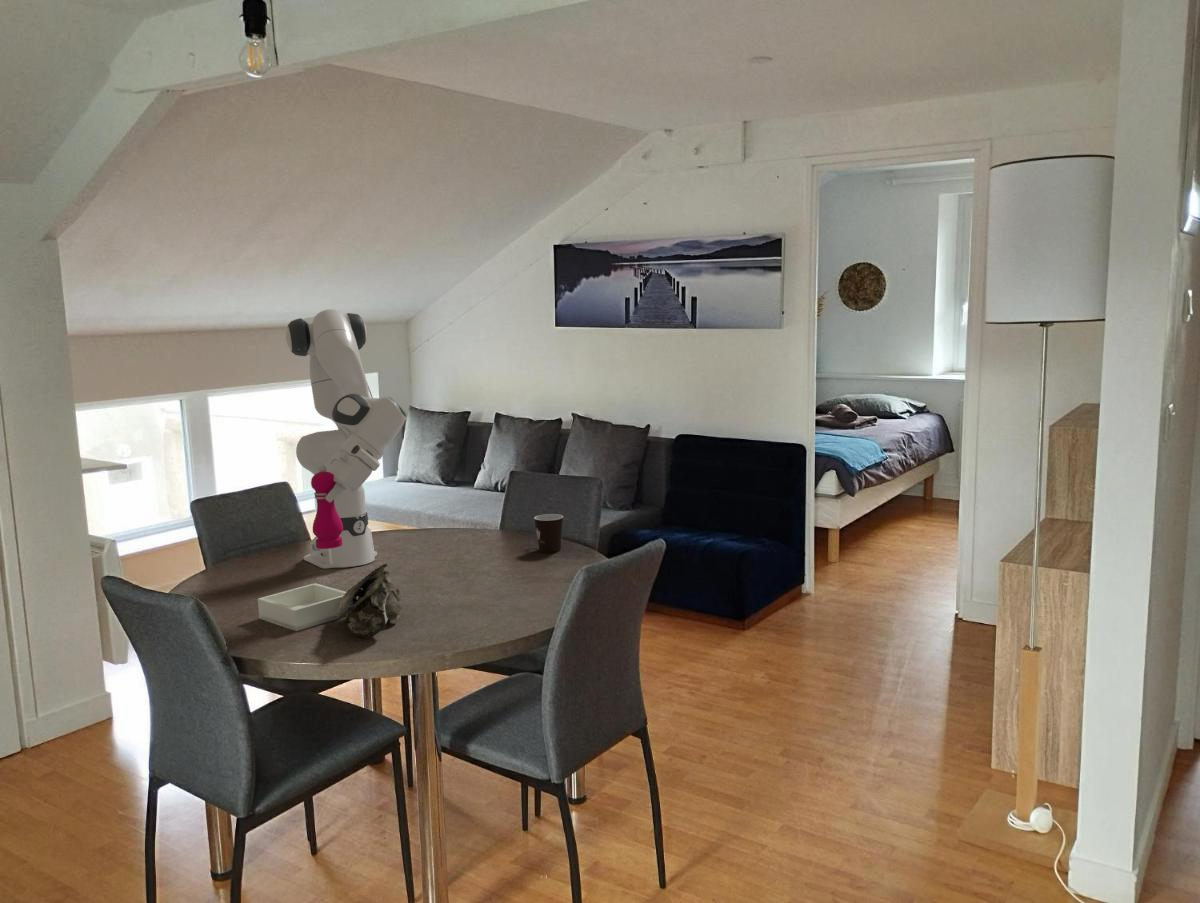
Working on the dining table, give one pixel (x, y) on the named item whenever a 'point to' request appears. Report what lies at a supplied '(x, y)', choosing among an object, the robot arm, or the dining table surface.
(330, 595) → the tray
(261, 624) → the dining table surface
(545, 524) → the dark brown cup
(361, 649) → the dining table surface
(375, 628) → the hollow geode rock
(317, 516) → the pepper mill
